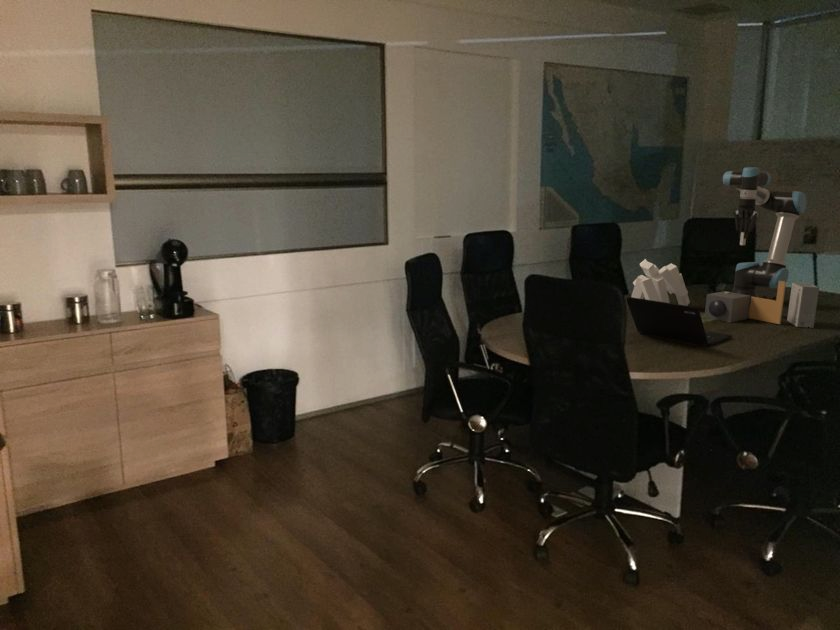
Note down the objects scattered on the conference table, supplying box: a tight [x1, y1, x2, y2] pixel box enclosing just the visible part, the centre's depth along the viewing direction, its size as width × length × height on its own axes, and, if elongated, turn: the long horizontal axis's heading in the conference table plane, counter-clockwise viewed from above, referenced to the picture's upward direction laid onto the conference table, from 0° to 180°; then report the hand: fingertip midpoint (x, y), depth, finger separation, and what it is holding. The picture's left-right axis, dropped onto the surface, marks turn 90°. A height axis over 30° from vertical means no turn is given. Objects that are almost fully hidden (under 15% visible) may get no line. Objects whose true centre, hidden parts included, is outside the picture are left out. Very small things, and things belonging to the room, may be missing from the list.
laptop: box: [626, 296, 732, 347], centre depth 296 cm, size 33×38×19 cm
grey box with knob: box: [704, 290, 750, 323], centre depth 339 cm, size 18×14×13 cm
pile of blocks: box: [630, 258, 691, 306], centre depth 359 cm, size 35×30×35 cm
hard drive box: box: [786, 281, 820, 329], centre depth 326 cm, size 16×8×20 cm, turn 168°
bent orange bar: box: [748, 281, 787, 325], centre depth 330 cm, size 16×1×21 cm, turn 32°
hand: (742, 244), depth 342 cm, fingers closed
